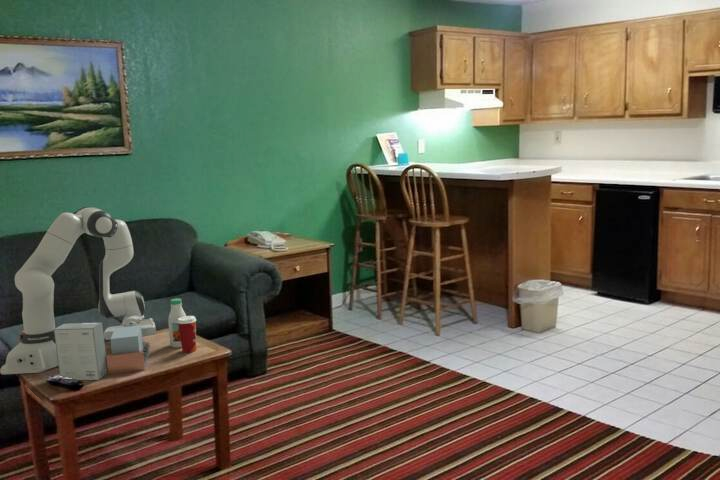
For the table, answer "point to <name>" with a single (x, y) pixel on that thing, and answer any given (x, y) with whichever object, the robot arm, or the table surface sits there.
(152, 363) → the table surface
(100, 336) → the hard drive box
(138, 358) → the roller conveyor
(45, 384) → the table surface
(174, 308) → the milk bottle
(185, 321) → the paper cup
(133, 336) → the light blue box
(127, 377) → the table surface
